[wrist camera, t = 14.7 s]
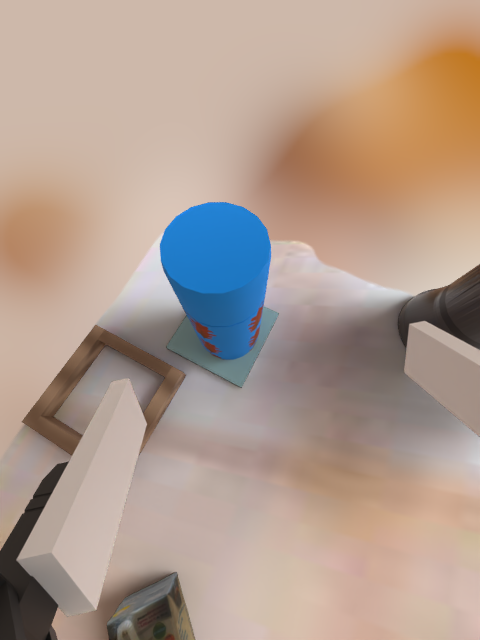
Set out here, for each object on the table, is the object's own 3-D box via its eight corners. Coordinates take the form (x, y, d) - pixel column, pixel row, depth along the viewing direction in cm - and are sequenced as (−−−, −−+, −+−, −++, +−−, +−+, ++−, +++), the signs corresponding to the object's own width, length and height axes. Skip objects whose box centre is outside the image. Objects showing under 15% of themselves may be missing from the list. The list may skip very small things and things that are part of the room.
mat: (209, 283, 54) (208, 281, 53) (278, 315, 51) (278, 313, 50) (167, 348, 49) (166, 347, 48) (241, 387, 46) (241, 387, 45)
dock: (103, 330, 50) (95, 324, 48) (186, 375, 47) (182, 371, 44) (35, 422, 45) (21, 421, 42) (124, 480, 41) (115, 484, 38)
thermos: (239, 372, 46) (234, 317, 23) (187, 342, 48) (134, 263, 25) (269, 321, 49) (292, 226, 26) (220, 294, 51) (199, 185, 28)
